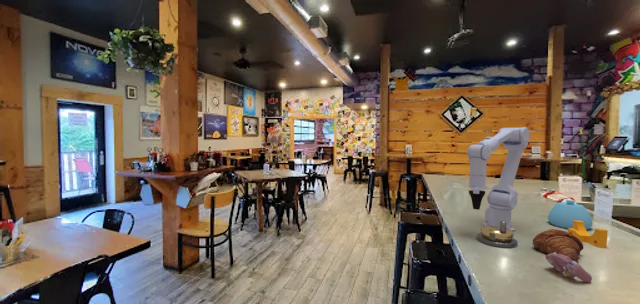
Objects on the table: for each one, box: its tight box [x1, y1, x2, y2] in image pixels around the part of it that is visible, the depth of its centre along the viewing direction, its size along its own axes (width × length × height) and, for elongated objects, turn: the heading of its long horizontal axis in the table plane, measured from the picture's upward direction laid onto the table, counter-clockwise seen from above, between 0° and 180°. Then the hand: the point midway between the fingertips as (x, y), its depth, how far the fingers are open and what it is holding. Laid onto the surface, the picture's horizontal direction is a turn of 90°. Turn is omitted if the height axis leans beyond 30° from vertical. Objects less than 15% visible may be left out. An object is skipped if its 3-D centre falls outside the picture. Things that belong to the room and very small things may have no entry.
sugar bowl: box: [547, 199, 593, 231], centre depth 128 cm, size 15×15×12 cm
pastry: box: [532, 228, 584, 262], centre depth 99 cm, size 17×15×8 cm
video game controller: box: [545, 252, 593, 283], centre depth 81 cm, size 10×5×7 cm, turn 6°
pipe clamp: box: [567, 220, 609, 249], centre depth 109 cm, size 12×4×6 cm, turn 175°
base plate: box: [476, 232, 519, 249], centre depth 108 cm, size 13×13×1 cm
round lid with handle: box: [480, 221, 515, 242], centre depth 107 cm, size 10×10×7 cm
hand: (476, 209), depth 114 cm, fingers closed
